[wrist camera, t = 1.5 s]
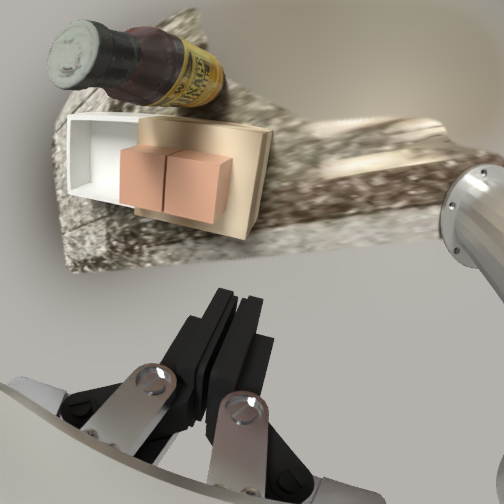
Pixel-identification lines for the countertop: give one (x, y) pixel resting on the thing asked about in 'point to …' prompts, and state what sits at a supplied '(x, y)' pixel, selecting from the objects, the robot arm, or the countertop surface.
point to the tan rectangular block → (220, 143)
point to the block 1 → (144, 176)
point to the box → (99, 152)
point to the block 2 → (197, 185)
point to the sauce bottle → (134, 65)
